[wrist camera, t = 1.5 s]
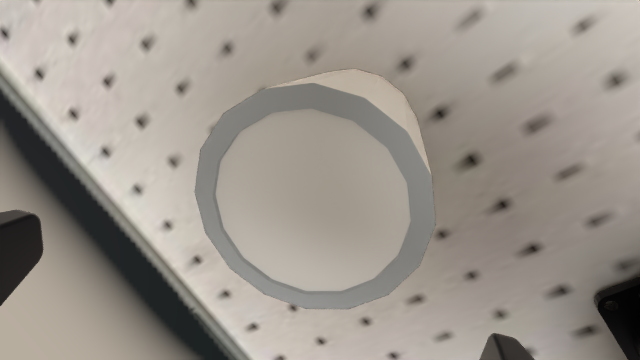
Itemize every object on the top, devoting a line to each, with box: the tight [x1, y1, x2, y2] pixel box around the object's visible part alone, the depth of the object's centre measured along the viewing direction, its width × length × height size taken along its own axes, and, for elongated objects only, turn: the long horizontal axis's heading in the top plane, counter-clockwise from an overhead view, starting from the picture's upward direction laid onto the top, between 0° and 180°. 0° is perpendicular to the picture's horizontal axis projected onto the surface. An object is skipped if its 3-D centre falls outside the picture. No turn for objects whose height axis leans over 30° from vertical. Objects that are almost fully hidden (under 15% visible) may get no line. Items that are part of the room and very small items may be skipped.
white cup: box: [195, 69, 436, 309], centre depth 16 cm, size 7×7×7 cm
